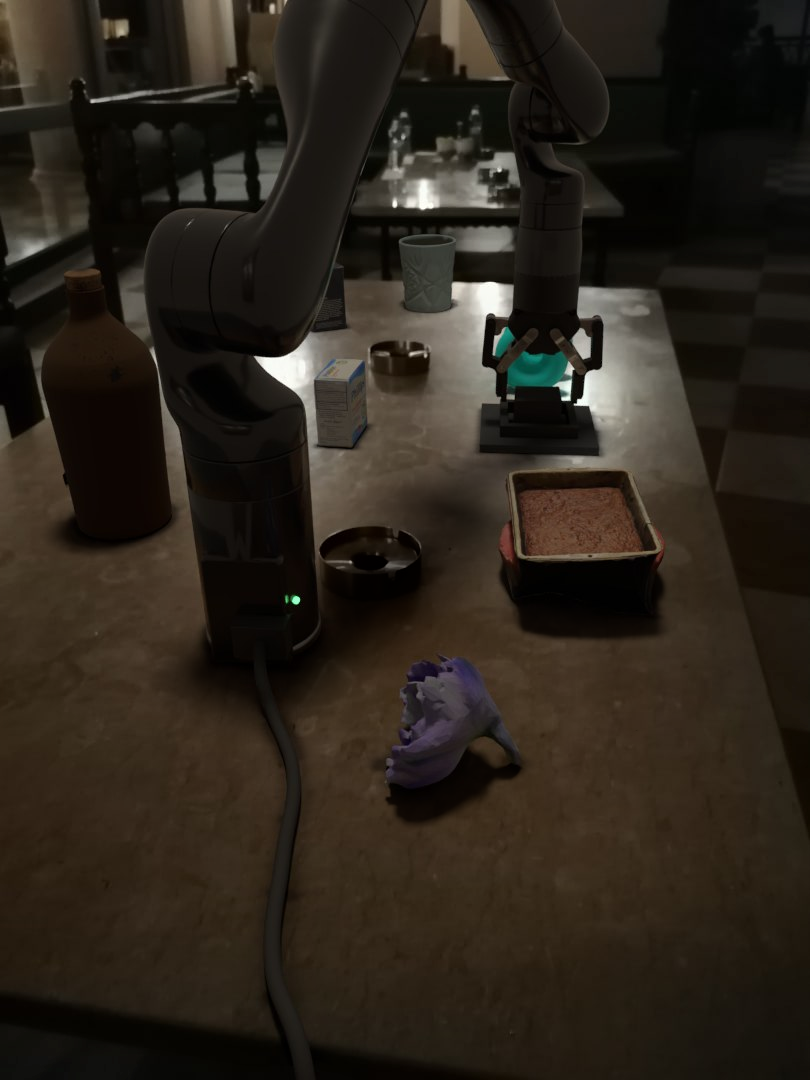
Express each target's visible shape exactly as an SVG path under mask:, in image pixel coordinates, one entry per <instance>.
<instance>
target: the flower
mask: <svg viewBox="0 0 810 1080" xmlns="http://www.w3.org/2000/svg"><path fill="white" fill-rule="evenodd" d="M435 655H436V656H437V657H438V659H439V660H440V664H438V663H435V662H431V660H427V659H426V658H423V659H421V662H413V663H412V665H411V667H410V668H409V670H408V671H407V673H406V674H405V676H406V678H407V682H406V684H405V686H403V687H400V688H399V699H401V700H402V701H403V702H402V703H403V706H404V707H403V709H402V712H401V717H400V724H405V725H406V726H408V727H409V730H406V729H404V728H402V727H401V728H399V729H397V734H398V737H399V740H400V742H401V744H402V745H392V747H391V755H392V758H391V757H390V758H389V757H387V758H386V760H385V765H386V767H388V769H387V770H386V771H385V773H384V774H385V777H386V780H385V781H384V784H396V785H400V786H401V787H403V788H405V789H407V790H416V789H419V788H424V787H426V786H430V785H433V784H435V783H438V782H441V781H442V780H444V779H445V778H446V777H448V776H449V775H450V774H452V772H453V771H454V770H455V768H457V766H458V764H459V762H460V760H461V759H462V757H463V755H464V753H465V751H466V749H467V748H468V747H469V746H470V744H471V743H473V742H474V741H476V740H478V739H479V738H484V737H485V738H489V739H490V740H493V741H494V742H495V743H496V744H498V745H499V746H500V747H501V748H502V750H503V751H504V753H505V755H506V757H507V760H508V762H509V763H511V764H513V765H515V766H518V765H519V764H520V762H521V760H522V756H521V751H520V749H519V747H518V746H517V744H516V742H515V741H514V739H513V737H512V736H511V734H510V732H509V731H508V730H507V728H506V725H505V724H504V721H503V717H502V714H501V711H500V710H499V708H498V707H497V705H496V703H495V701H494V700H493V697H492V696H491V695H490V692H489V691H488V689H487V688H486V684H485V680H484V676H483V674H482V673H481V672H480V670H479V669H478V668H477V667H476V666H475V665H474V664H473V663H472V662H470V661H469V660H468V659H466V658H463V657H461V656H455V657H451V659H450V658H448V657H446V656H444V655H441V654H438V653H436V652H435Z"/></svg>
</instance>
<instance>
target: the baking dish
mask: <svg viewBox="0 0 810 1080" xmlns="http://www.w3.org/2000/svg"><path fill="white" fill-rule="evenodd" d="M504 487H505V491H506V494H507V498H508V499H507V500H508V503H509V504H508V505H509V513H510V519H509V521H507V522H506V524H504V526H503V528H502V529H501V532H500V538H499V541H498V545H497V547H498V551H499V554H500V557H501V560H502V564H503V566H504V570H505V573H506V577H507V579H508V583H509V588H510V593H511V596H512V599H521V598H526V597H532V596H533V597H534V596H539V595H545V594H553V593H554V594H556V595H560V596H563V597H566V598H569V599H573V600H576V601H579V602H582V603H585V604H588V605H591V606H595V607H598V608H601V609H604V610H608V611H611V612H614V613H621V614H633V615H643V616H644V615H645V616H652V615H653V605H652V590H653V586H654V581H655V577H656V575H657V574H656V573H657V570H658V569H659V567H660V565H661V563H662V561H663V559H664V555H665V547H666V544H665V541H664V538H663V535H662V534H661V533H660V531H659V530H658V529H657V528H656V527H655V525H654V524H653V521H652V519H651V516H650V515H649V513H648V510H647V507H646V504H645V502H644V499H643V497H642V494H641V491H640V489H639V487H638V485H637V482H636V479H635V476H634V474H632V472H631V471H630V470H627V469H625V468H621V467H615V468H614V467H589V466H588V467H587V466H586V467H548V468H534V469H518V470H515V471H512V472H509V473H508V474H507V476H506V478H505V485H504Z"/></svg>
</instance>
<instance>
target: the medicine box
mask: <svg viewBox="0 0 810 1080" xmlns="http://www.w3.org/2000/svg"><path fill="white" fill-rule="evenodd" d="M366 380H367V379H366V361H365V360H363V359H353V358H332V359H331V360H330V361H329V363H327V365H326V366H325V367H324V368H323V369H322V370H321V371H320V372H319V373H318V374H317V376H315V378H314V379H313V393H314V407H315V419H316V420H315V421H316V432H317V444H318V446H322V447H323V446H325V447H337V448H354V445H355V443H357V440H358V439H359V437H360V436H361V434H362V433H363V431H364V430H365V428H366V427H367V425H368V405H367V404H368V403H367V401H368V400H367V381H366Z"/></svg>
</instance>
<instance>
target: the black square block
mask: <svg viewBox="0 0 810 1080" xmlns="http://www.w3.org/2000/svg"><path fill="white" fill-rule="evenodd" d="M513 397H514V398H513V399H514V423H528V424H560V422H561V409H562V401H563V400H562V399H563V398H562V395H561V388H560V386H552V387H549V386H515V389H514V396H513Z"/></svg>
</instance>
